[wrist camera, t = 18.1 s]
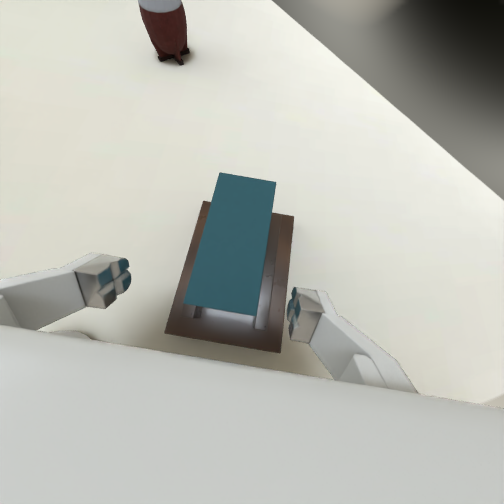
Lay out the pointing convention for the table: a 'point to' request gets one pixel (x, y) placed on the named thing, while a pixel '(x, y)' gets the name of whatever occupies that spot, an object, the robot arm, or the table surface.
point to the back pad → (233, 246)
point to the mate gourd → (166, 27)
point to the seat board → (235, 324)
